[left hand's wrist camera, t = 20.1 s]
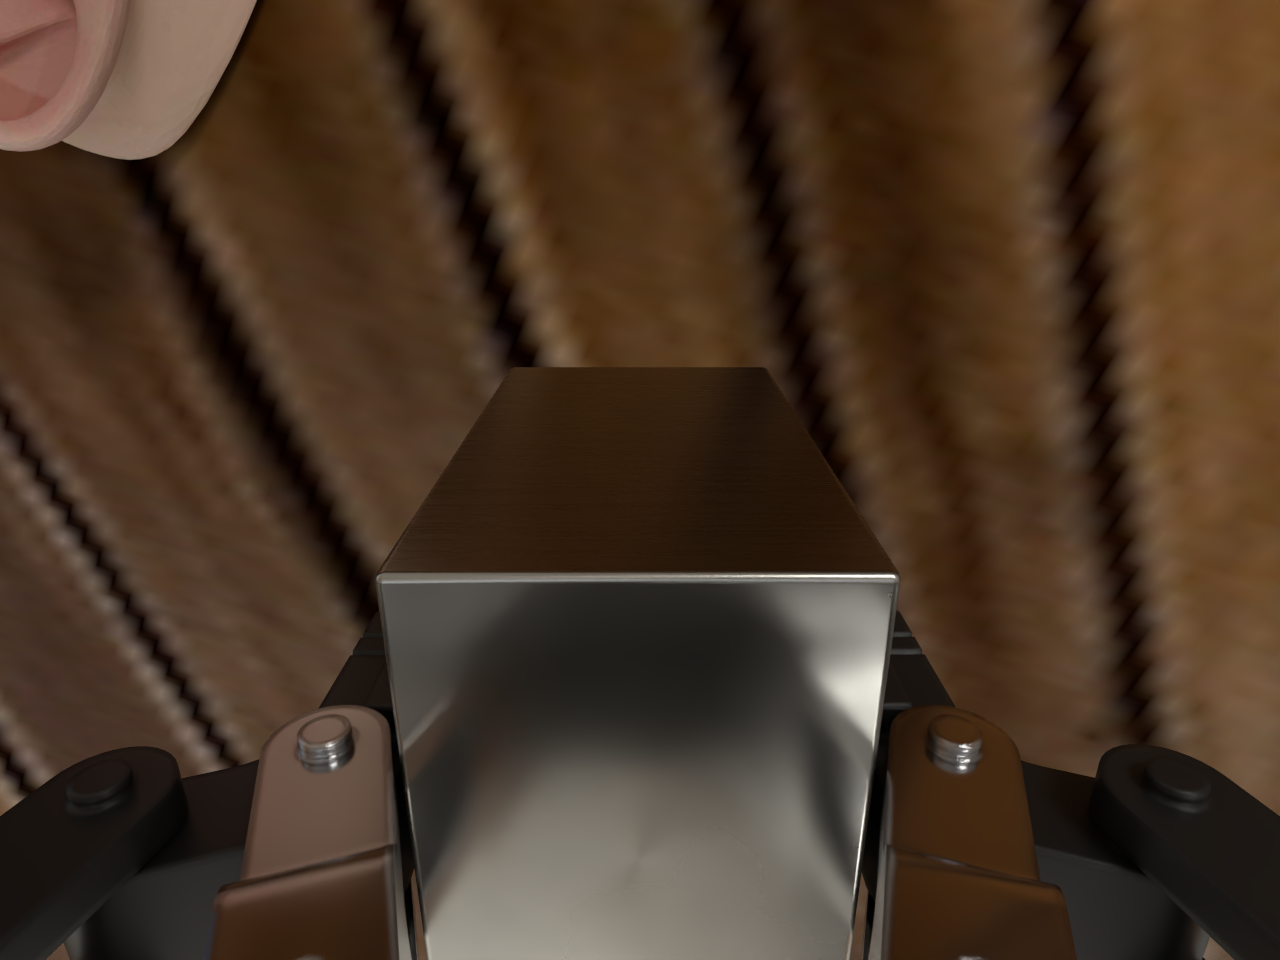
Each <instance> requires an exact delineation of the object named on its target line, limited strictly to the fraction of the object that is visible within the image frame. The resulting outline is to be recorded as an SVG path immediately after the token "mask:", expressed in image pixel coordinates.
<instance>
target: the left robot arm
mask: <svg viewBox="0 0 1280 960" xmlns="http://www.w3.org/2000/svg"><path fill="white" fill-rule="evenodd" d="M413 870H414V860H413V852H412V845H411V838H410V830H409V823H408V816H407V808H406V801H405V794H404V786H403V779H402V772H401V764H400V757H399V750H398V742H397V735H396V728H395V720H394V713H393V706H392V698H391V691H390V684H389V676H388V669H387V662H386V654H385V647H384V640H383V633H382V625H381V618H380V611H378V612H376V613H375V615H374V617H373V618H372V620H371V622H370V623H369V625H368V627H367V628H366V630H365V632H364V633H363V638H360V640H359V642H358V643H357V645H356V647H355V648H354V650H353V655H350V657H349V658H348V660H347V662H346V663H345V665H344V667H343V669H342V670H341V672H340V674H339V675H338V677H337V679H336V680H335V682H334V684H333V685H332V687H331V689H330V690H329V692H328V694H327V695H326V697H325V699H324V700H323V702H322V704H321V705H320V707H319V709H316V710H313V711H310V712H307V713H305V714H303V715H301V716H298V717H296V718H294V719H293V720H291V721H289V722H287V723H286V724H285V725H283V726H282V727H280V728H279V729H278V730H277V731H276V732H275V733H273V734H272V735H271V737H270V738H269V739H268V740H267V741H266V743H265V745H264V747H263V748H262V751H261V754H260V759H259V760H256V761H253V762H250V763H247V764H244V765H240V766H236V767H233V768H228V769H223V770H219V771H214V772H210V773H205V774H200V775H196V776H191V777H187V778H182V779H181V775H180V771H179V767H178V764H177V761H176V759H175V758H174V757H173V756H172V755H171V754H170V753H168V752H167V751H165V750H162V749H159V748H154V747H128V748H121V749H116V750H112V751H108V752H105V753H101V754H98V755H96V756H93V757H90V758H88V759H85V760H83V761H81V762H79V763H77V764H74V765H73V766H71V767H69V768H67V769H65V770H64V771H62V772H60V773H59V774H57V775H56V776H54V777H53V778H51V779H50V780H49V781H47V782H46V783H45V784H43V785H42V786H41V787H39V788H38V789H37V790H35V791H34V792H33V793H31V794H30V795H28V796H27V797H26V798H24V799H23V800H22V801H20V802H19V803H18V804H16V805H15V806H14V807H12V808H11V809H9V810H8V811H7V812H5V813H4V814H3V815H1V816H0V960H45V959H46V958H48V957H49V956H50V955H51V954H52V953H53V952H54V951H55V950H56V949H57V948H58V947H59V946H60V945H61V944H62V943H63V942H64V945H65V947H66V950H67V953H68V955H69V958H70V960H419V954H418V941H417V929H416V916H415V905H414V898H413V891H412V883H411V877H412V873H413ZM862 874H863V877H864V881H865V884H866V887H867V889H868V890H867V898H866V905H865V916H864V929H863V941H862V954H861V960H1205V959H1204V958H1203V955H1204V952H1205V949H1206V947H1207V944H1208V941H1209V938H1210V937H1211V938H1212V939H1214V940H1215V941H1216V942H1217V943H1218V944H1219V945H1220V946H1221V947H1222V948H1223V949H1224V950H1225V951H1226V952H1227V953H1228V954H1229V955H1230V956H1231V957H1232V958H1233V959H1235V960H1280V816H1279V815H1277V814H1276V813H1275V812H1273V811H1272V810H1270V809H1269V808H1268V807H1266V806H1265V805H1264V804H1262V803H1261V802H1260V801H1258V800H1257V799H1256V798H1254V797H1253V796H1252V795H1250V794H1249V793H1247V792H1246V791H1245V790H1243V789H1242V788H1241V787H1239V786H1238V785H1237V784H1235V783H1234V782H1233V781H1231V780H1230V779H1229V778H1227V777H1226V776H1224V775H1223V774H1221V773H1220V772H1218V771H1217V770H1215V769H1214V768H1212V767H1210V766H1208V765H1207V764H1205V763H1203V762H1201V761H1199V760H1197V759H1194V758H1192V757H1190V756H1188V755H1185V754H1182V753H1179V752H1177V751H1173V750H1170V749H1166V748H1162V747H1157V746H1152V745H1142V744H1129V745H1122V746H1118V747H1115V748H1112V749H1110V750H1109V751H1107V752H1106V753H1105V754H1104V755H1103V756H1102V757H1101V760H1100V762H1099V766H1098V769H1097V773H1096V777H1095V778H1093V777H1088V776H1084V775H1079V774H1075V773H1070V772H1065V771H1061V770H1056V769H1052V768H1047V767H1042V766H1038V765H1035V764H1031V763H1027V762H1024V761H1022V760H1021V759H1020V754H1019V751H1018V748H1017V747H1016V745H1015V743H1014V742H1013V740H1012V739H1011V738H1010V737H1009V735H1008V734H1006V733H1005V732H1004V731H1003V730H1002V729H1001V728H1000V727H998V726H997V725H995V724H994V723H993V722H991V721H989V720H987V719H985V718H984V717H982V716H979V715H977V714H975V713H973V712H970V711H967V710H964V709H960V708H956V707H955V705H954V704H953V702H952V700H951V699H950V697H949V695H948V693H947V692H946V690H945V688H944V687H943V685H942V683H941V682H940V680H939V678H938V676H937V675H936V673H935V671H934V670H933V668H932V666H931V665H930V663H929V661H928V659H927V658H926V656H925V655H922V649H921V648H920V646H919V644H918V642H917V641H916V639H915V637H912V632H911V631H910V629H909V627H908V625H907V624H906V622H905V620H904V619H903V617H902V615H901V614H900V612H899V611H897V610H896V617H895V624H894V632H893V639H892V647H891V654H890V662H889V669H888V676H887V684H886V691H885V699H884V706H883V714H882V721H881V729H880V736H879V744H878V751H877V759H876V766H875V774H874V781H873V789H872V796H871V804H870V811H869V819H868V826H867V833H866V841H865V848H864V856H863V863H862Z"/></svg>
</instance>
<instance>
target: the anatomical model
mask: <svg viewBox="0 0 1280 960" xmlns="http://www.w3.org/2000/svg"><path fill="white" fill-rule="evenodd" d="M256 1H257V0H0V149H3V150H9V151H33V150H39V149H43V148H46V147H48V146H51V145H53V144H56V143H58V142H60V141H63V142H66V143H68V144H71V145H73V146H75V147H78V148H80V149H83V150H86V151H89V152H93V153H96V154H99V155H103V156H108V157H112V158H118V159H126V160H134V159H143V158H147V157H151V156H156V155H157V154H159V153H161V152H163V151H164V150H166V149H168V148H169V147H171V146H172V145H173V144H174V143H175V142H176V141H177V140H178V139H179V138H180V137H181V136H182V135H183V134H184V133H185V132H186V131H187V130H188V128H189V127H190V126H191V124H192V123H193V121H194V120H195V119H196V117H197V116H198V115H199V113H200V112H201V110H202V109H203V108H204V106H205V105H206V103H207V102H208V100H209V98H210V96H211V95H212V93H213V91H214V89H215V87H216V86H217V84H218V82H219V80H220V78H221V76H222V75H223V73H224V71H225V69H226V67H227V65H228V63H229V61H230V60H231V57H232V55H233V53H234V51H235V49H236V47H237V45H238V43H239V41H240V39H241V37H242V34H243V32H244V30H245V27H246V25H247V23H248V20H249V18H250V16H251V13H252V11H253V9H254V6H255V4H256Z"/></svg>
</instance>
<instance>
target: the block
mask: <svg viewBox="0 0 1280 960" xmlns="http://www.w3.org/2000/svg"><path fill="white" fill-rule="evenodd" d="M375 581H376V589H377V596H378V603H379V611H380V618H381V625H382V633H383V640H384V647H385V654H386V662H387V669H388V676H389V684H390V691H391V698H392V706H393V713H394V720H395V728H396V735H397V742H398V750H399V757H400V764H401V772H402V779H403V786H404V794H405V801H406V808H407V816H408V823H409V830H410V838H411V845H412V852H413V860H414V867H415V874H416V881H417V889H418V896H419V903H420V911H421V918H422V925H423V933H424V940H425V947H426V955H427V960H850V953H851V946H852V938H853V931H854V923H855V916H856V908H857V901H858V893H859V886H860V878H861V871H862V863H863V856H864V848H865V841H866V833H867V826H868V819H869V811H870V804H871V796H872V789H873V781H874V774H875V766H876V759H877V751H878V744H879V736H880V729H881V721H882V714H883V706H884V699H885V691H886V684H887V676H888V669H889V662H890V654H891V647H892V639H893V632H894V624H895V617H896V609H897V602H898V594H899V587H900V576H899V573H898V571H897V569H896V568H895V566H894V565H893V563H892V562H891V560H890V558H889V557H888V555H887V554H886V552H885V551H884V549H883V548H882V546H881V545H880V543H879V542H878V540H877V538H876V537H875V535H874V534H873V532H872V531H871V529H870V528H869V526H868V525H867V523H866V521H865V520H864V518H863V517H862V515H861V514H860V512H859V511H858V509H857V508H856V506H855V504H854V503H853V501H852V500H851V498H850V497H849V495H848V494H847V492H846V491H845V489H844V487H843V486H842V484H841V483H840V481H839V480H838V478H837V477H836V475H835V474H834V472H833V470H832V469H831V467H830V466H829V464H828V463H827V461H826V460H825V458H824V457H823V455H822V454H821V452H820V450H819V449H818V447H817V446H816V444H815V443H814V441H813V440H812V438H811V437H810V435H809V433H808V432H807V430H806V429H805V427H804V426H803V424H802V423H801V421H800V420H799V418H798V416H797V415H796V413H795V412H794V410H793V409H792V407H791V406H790V404H789V403H788V401H787V399H786V398H785V396H784V395H783V393H782V392H781V390H780V389H779V387H778V386H777V384H776V383H775V381H774V379H773V378H772V376H771V375H770V373H769V372H768V370H767V369H766V368H763V367H549V368H512V369H510V371H509V372H508V374H507V375H506V377H505V378H504V380H503V382H502V383H501V385H500V386H499V388H498V389H497V391H496V392H495V394H494V395H493V397H492V398H491V400H490V401H489V403H488V404H487V406H486V407H485V409H484V411H483V412H482V414H481V415H480V417H479V418H478V420H477V421H476V423H475V424H474V426H473V427H472V429H471V430H470V432H469V433H468V435H467V436H466V438H465V440H464V441H463V443H462V444H461V446H460V447H459V449H458V450H457V452H456V453H455V455H454V456H453V458H452V459H451V461H450V462H449V464H448V465H447V467H446V469H445V470H444V472H443V473H442V475H441V476H440V478H439V479H438V481H437V482H436V484H435V485H434V487H433V488H432V490H431V491H430V493H429V494H428V496H427V498H426V499H425V501H424V502H423V504H422V505H421V507H420V508H419V510H418V511H417V513H416V514H415V516H414V517H413V519H412V520H411V522H410V523H409V525H408V526H407V528H406V530H405V531H404V533H403V534H402V536H401V537H400V539H399V540H398V542H397V543H396V545H395V546H394V548H393V549H392V551H391V552H390V554H389V555H388V557H387V559H386V560H385V562H384V563H383V565H382V566H381V568H380V569H379V571H378V572H377V575H376V578H375Z"/></svg>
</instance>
